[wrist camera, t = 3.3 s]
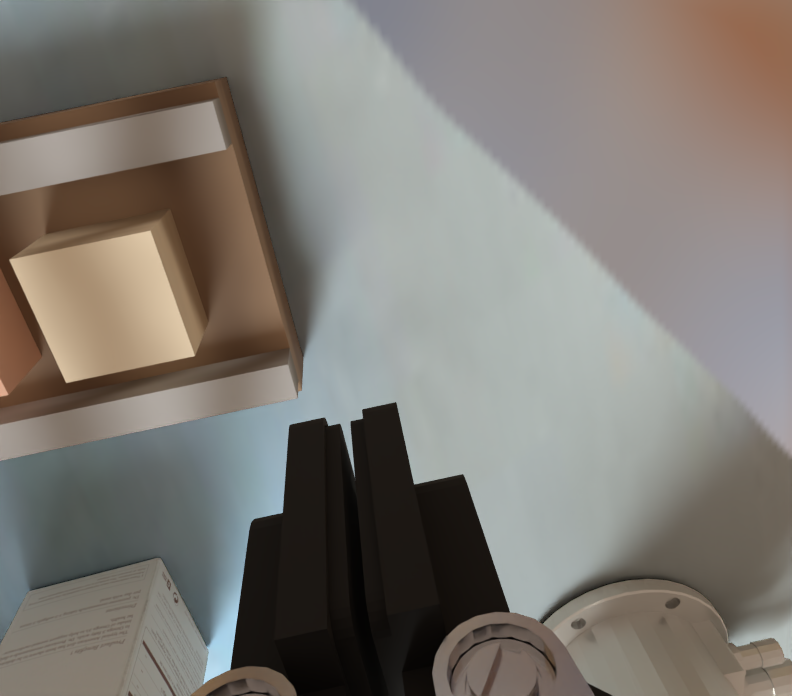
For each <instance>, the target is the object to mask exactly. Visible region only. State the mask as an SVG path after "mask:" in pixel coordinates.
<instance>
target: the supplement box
mask: <svg viewBox="0 0 792 696" xmlns="http://www.w3.org/2000/svg"><path fill="white" fill-rule="evenodd" d="M207 659H208V649H207V647H206V645H205V642H204V640H203V638H202V636H201V634H200V632H199V630H198V628H197V627H196V624H195V622H194V620H193V619H192V617H191V615H190V613H189V611H188V609H187V607H186V605H185V603H184V601H183V599H182V597H181V595H180V594H179V591H178V589H177V588H176V586H175V584H174V582H173V580H172V578H171V576H170V574H169V573H168V571H167V569H166V567H165V565H164V563H163V562H162V560H161V559H160V558H155V559H151V560H147V561H144V562H140V563H136V564H132V565H128V566H125V567H121V568H117V569H113V570H109V571H105V572H102V573H98V574H94V575H90V576H86V577H83V578H79V579H75V580H71V581H67V582H63V583H59V584H55V585H51V586H48V587H44V588H40V589H36V590H32V591H29V592H27V594H26V596H25V598H24V600H23V602H22V604H21V606H20V608H19V610H18V611H17V613H16V615H15V617H14V619H13V621H12V623H11V625H10V627H9V629H8V631H7V633H6V635H5V636H4V638H3V640H2V642H1V644H0V696H190V695H191V694H192V693H194V692H195V691H196V690H197V689H199V688H200V687H201V686H202V685H203V681H204V676H205V670H206V665H207Z"/></svg>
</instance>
